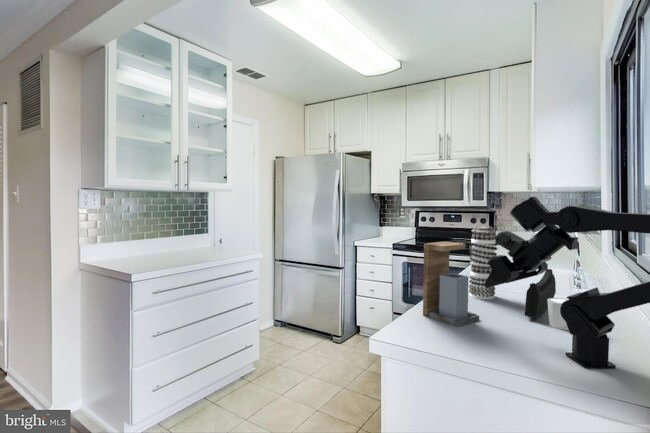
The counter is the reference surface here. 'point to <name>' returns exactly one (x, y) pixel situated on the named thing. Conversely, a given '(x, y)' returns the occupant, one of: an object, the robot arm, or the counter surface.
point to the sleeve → (453, 296)
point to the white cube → (556, 313)
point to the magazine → (540, 295)
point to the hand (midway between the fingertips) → (495, 283)
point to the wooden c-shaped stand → (433, 268)
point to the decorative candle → (481, 261)
